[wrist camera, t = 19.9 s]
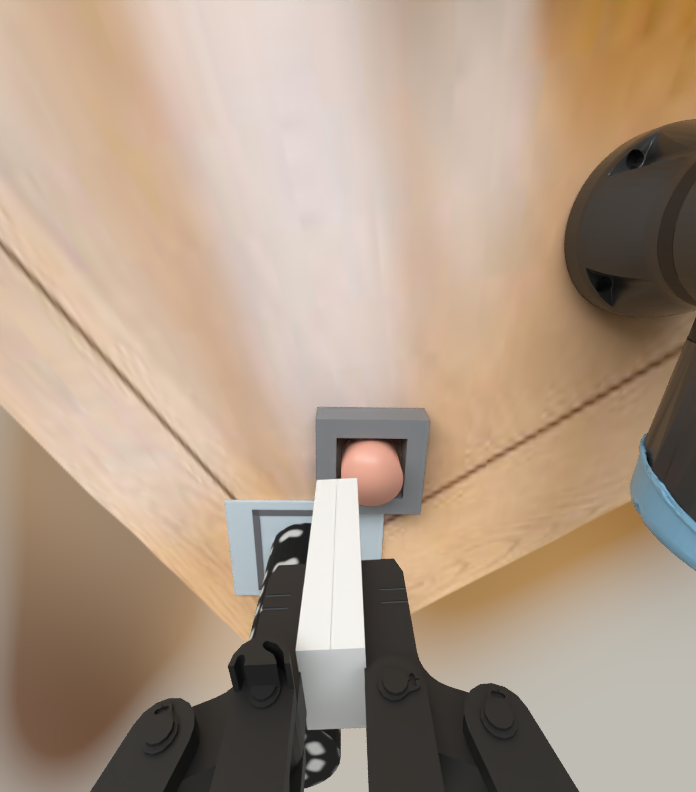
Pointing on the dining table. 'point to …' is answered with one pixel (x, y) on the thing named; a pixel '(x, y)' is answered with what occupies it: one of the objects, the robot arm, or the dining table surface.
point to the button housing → (377, 425)
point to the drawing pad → (263, 521)
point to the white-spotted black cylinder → (284, 551)
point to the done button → (372, 469)
